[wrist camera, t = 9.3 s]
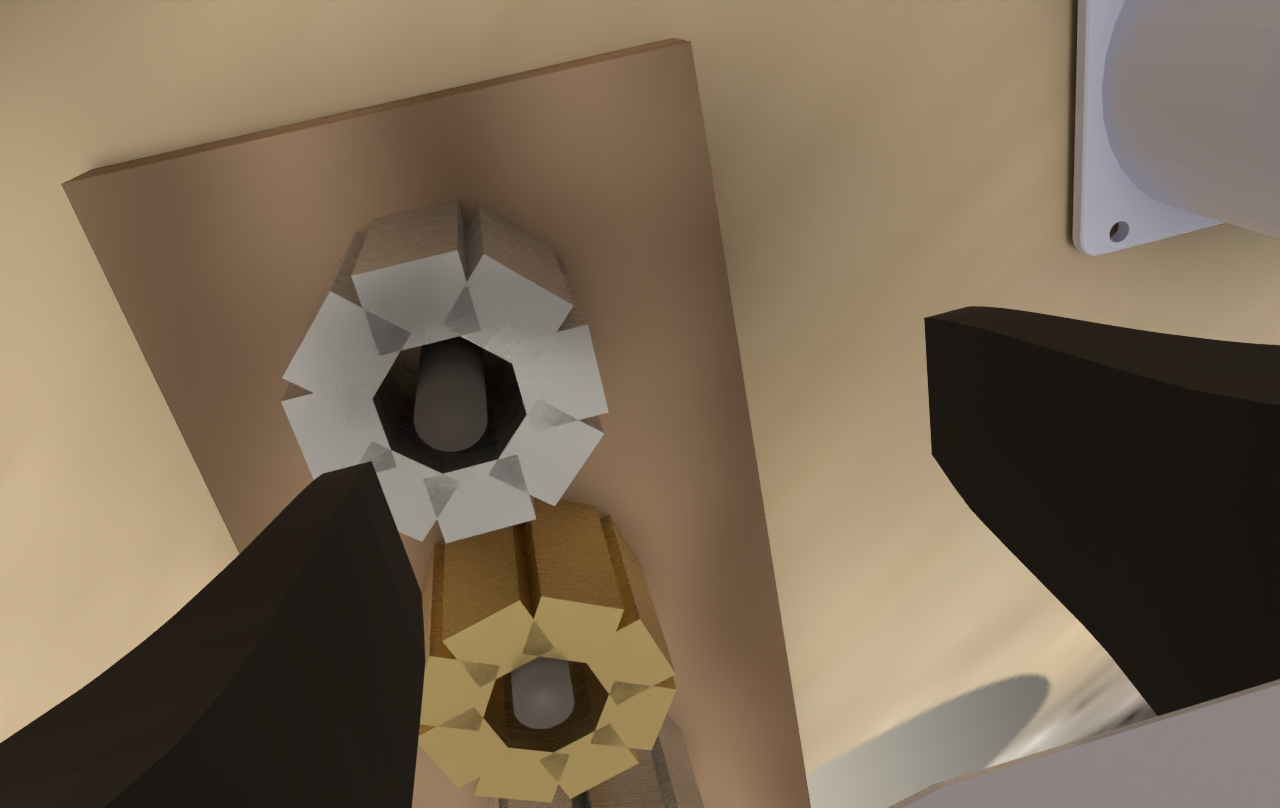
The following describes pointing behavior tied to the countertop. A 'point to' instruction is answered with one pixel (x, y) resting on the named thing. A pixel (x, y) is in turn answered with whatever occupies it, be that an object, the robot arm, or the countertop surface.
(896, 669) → the countertop surface
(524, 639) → the brass gear
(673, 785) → the steel gear
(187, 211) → the gear board
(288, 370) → the steel gear
